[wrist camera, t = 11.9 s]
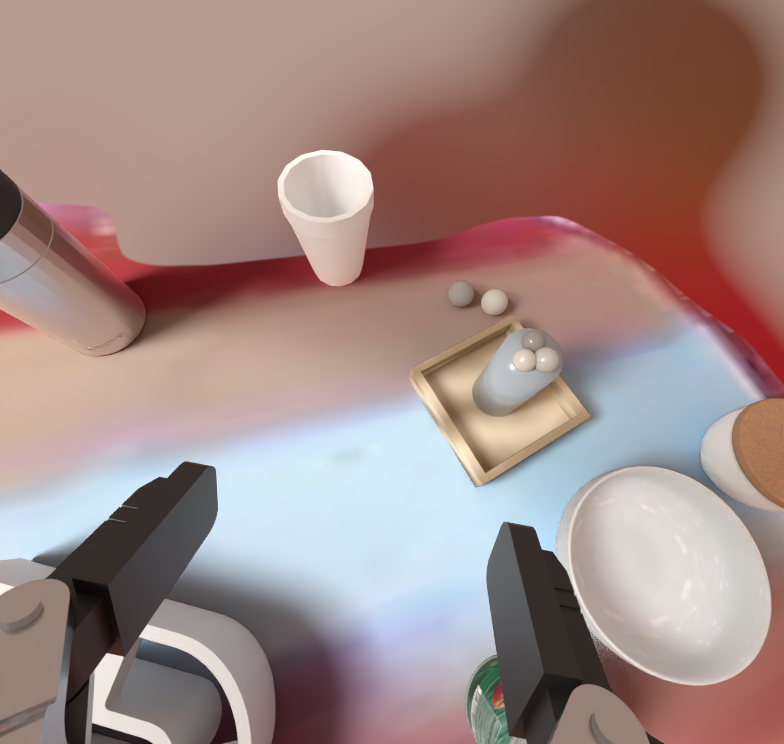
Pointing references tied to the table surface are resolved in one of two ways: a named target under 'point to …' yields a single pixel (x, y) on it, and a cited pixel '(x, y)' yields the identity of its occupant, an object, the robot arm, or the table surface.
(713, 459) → the lidded jar
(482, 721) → the canned tomato
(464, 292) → the pebble
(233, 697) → the ice cube tray
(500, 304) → the pebble
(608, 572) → the cereal bowl
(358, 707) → the table surface
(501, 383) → the pebble jar
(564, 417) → the birch tray
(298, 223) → the foam cup
